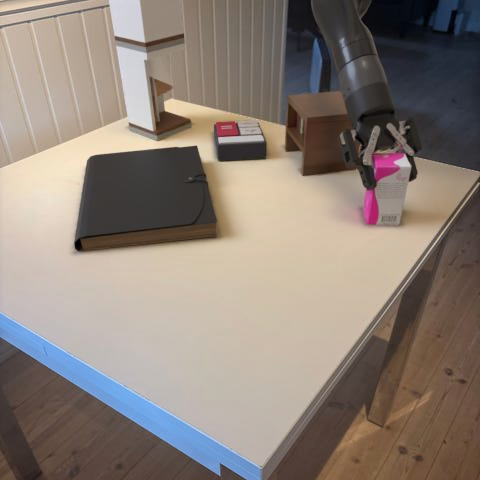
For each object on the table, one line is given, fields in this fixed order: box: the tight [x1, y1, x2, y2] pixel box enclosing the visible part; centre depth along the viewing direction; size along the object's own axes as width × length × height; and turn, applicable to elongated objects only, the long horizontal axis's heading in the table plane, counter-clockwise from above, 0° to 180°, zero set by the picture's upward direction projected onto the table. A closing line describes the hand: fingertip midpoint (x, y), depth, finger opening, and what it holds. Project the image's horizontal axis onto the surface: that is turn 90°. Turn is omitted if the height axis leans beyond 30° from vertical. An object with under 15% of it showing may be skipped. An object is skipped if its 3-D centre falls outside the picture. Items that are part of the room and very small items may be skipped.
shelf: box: [284, 90, 361, 176], centre depth 105 cm, size 12×14×12 cm
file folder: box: [73, 145, 218, 252], centre depth 94 cm, size 33×4×24 cm
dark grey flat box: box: [213, 119, 268, 162], centre depth 113 cm, size 11×4×15 cm
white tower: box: [108, 0, 192, 142], centre depth 112 cm, size 11×11×35 cm
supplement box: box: [362, 152, 411, 226], centre depth 85 cm, size 6×6×12 cm
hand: (392, 184), depth 83 cm, fingers closed on supplement box, 7 cm apart
